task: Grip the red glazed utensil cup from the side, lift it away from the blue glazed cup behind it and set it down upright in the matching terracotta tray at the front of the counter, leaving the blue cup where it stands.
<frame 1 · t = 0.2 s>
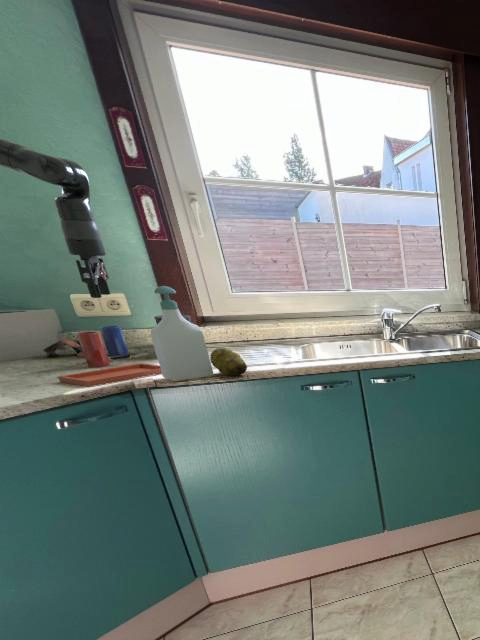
hand: (101, 296, 146), 24 cm above the worktop, tool pointing down, fingers open, 8 cm apart
green oval piece: (231, 374, 161), on the worktop
black and orange arch: (72, 359, 173), on the worktop
blue cup: (120, 357, 177), on the worktop
tray: (118, 376, 153), on the worktop
coffee can: (183, 354, 187), on the worktop
red cup: (99, 365, 165), on the worktop
soap bottle: (188, 376, 156), on the worktop
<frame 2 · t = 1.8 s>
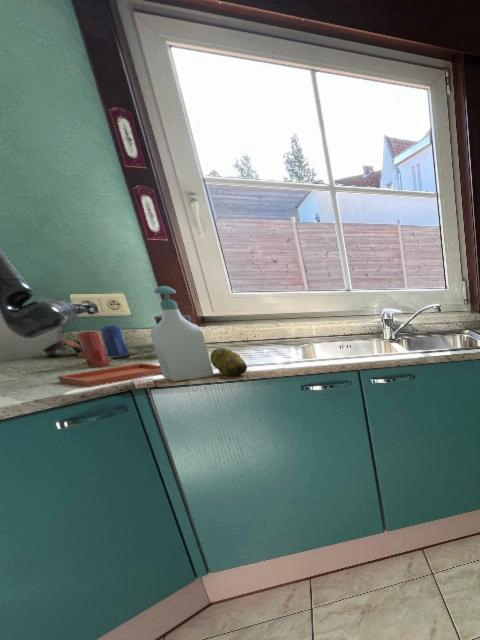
hand: (69, 307, 149), 20 cm above the worktop, tool horizontal, fingers open, 8 cm apart
nothing on the worktop moved.
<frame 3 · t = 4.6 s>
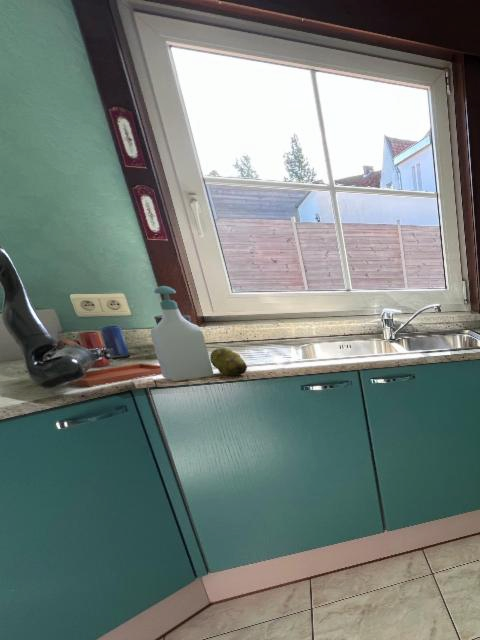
hand: (87, 351, 156), 6 cm above the worktop, tool horizontal, fingers open, 8 cm apart
nothing on the worktop moved.
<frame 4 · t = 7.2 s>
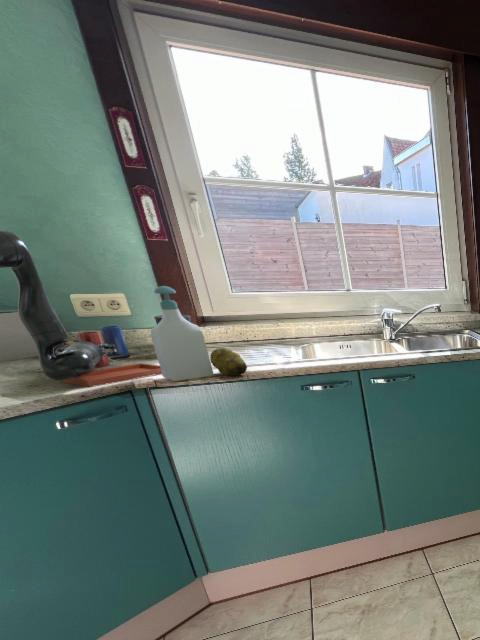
hand: (94, 346, 165), 6 cm above the worktop, tool horizontal, fingers closed on red cup, 5 cm apart
red cup: (99, 365, 165), on the worktop, touching gripper
everything else where it was.
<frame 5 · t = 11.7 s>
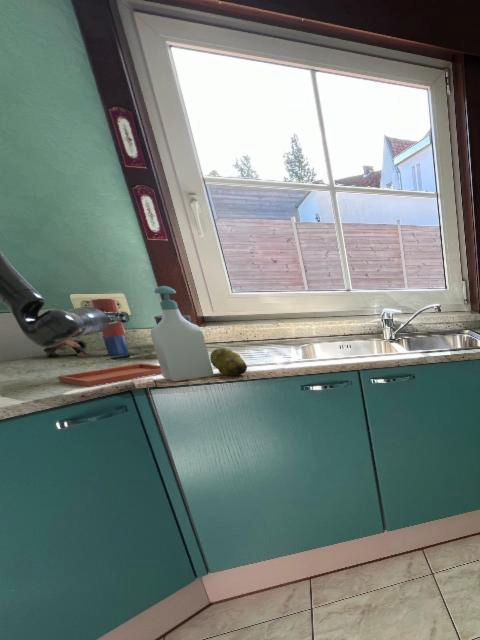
hand: (111, 315, 156), 17 cm above the worktop, tool horizontal, fingers closed on red cup, 5 cm apart
red cup: (114, 335, 156), point 11 cm above the worktop, touching gripper
everything else where it was.
when the fingers open (7 cm above the worktop, at t = 16.1 s): red cup stays where it is, resting on tray.
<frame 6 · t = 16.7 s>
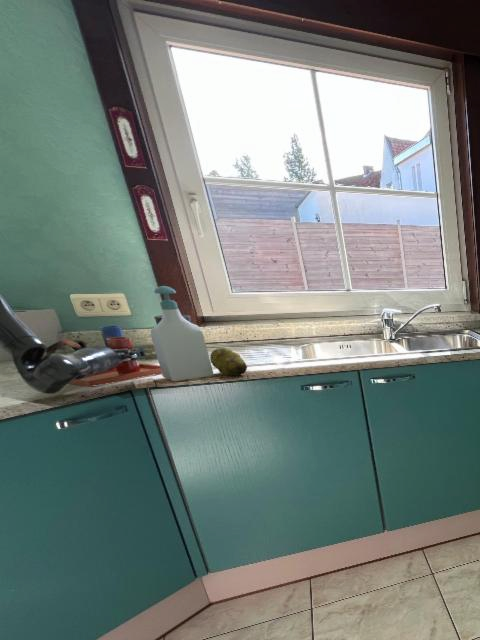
hand: (125, 350, 154), 7 cm above the worktop, tool horizontal, fingers open, 8 cm apart
red cup: (129, 373, 155), resting on tray
everything else where it was.
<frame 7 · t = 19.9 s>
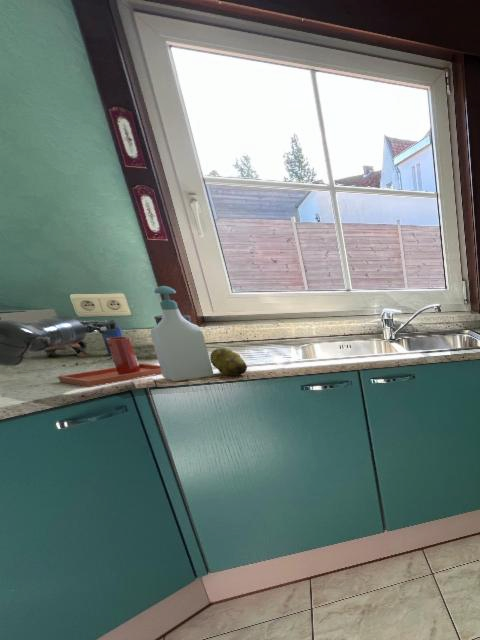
hand: (95, 323, 142), 17 cm above the worktop, tool horizontal, fingers open, 8 cm apart
nothing on the worktop moved.
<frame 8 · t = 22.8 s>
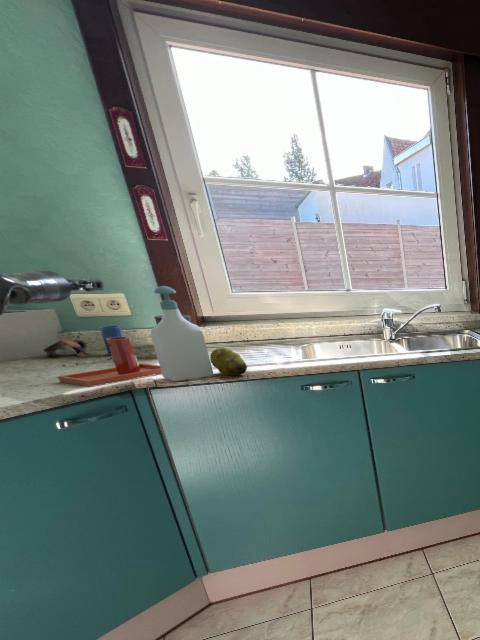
hand: (81, 283, 138), 28 cm above the worktop, tool horizontal, fingers open, 8 cm apart
nothing on the worktop moved.
at the end: red cup inside the target area in the tray (3.0 cm from its centre), point 0.5 cm above the tray's base; red cup tilted 0°; blue cup moved 0.0 cm from its start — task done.
